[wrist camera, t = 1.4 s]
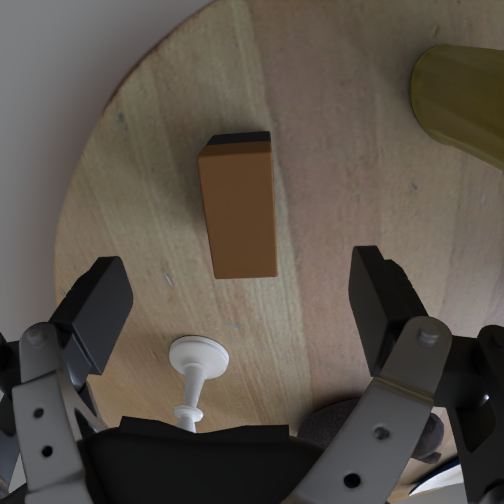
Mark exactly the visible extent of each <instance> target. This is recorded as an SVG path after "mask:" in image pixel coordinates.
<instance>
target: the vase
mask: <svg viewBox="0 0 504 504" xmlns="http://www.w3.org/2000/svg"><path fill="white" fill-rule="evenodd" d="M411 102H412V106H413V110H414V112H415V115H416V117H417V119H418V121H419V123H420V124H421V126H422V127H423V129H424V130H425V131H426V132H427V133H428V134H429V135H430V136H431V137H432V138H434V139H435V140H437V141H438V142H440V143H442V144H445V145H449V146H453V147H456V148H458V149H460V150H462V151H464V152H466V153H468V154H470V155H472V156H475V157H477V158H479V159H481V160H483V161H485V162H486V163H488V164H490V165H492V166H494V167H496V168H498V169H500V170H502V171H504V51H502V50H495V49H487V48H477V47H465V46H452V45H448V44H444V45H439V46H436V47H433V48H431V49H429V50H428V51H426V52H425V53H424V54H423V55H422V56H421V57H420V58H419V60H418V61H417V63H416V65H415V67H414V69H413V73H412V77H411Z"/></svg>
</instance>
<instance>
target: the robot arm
mask: <svg viewBox="0 0 504 504" xmlns="http://www.w3.org/2000/svg"><path fill="white" fill-rule="evenodd" d="M348 291H349V301H350V305H351V308H352V311H353V315H354V318H355V321H356V325H357V328H358V331H359V335H360V338H361V342H362V346H363V349H364V353H365V356H366V360H367V364H368V368H369V371H370V375H371V377H374V378H373V379H372V381H371V382H370V384H369V386H368V387H367V389H366V390H365V392H364V394H363V395H362V397H361V399H360V400H359V402H358V403H357V405H356V406H355V408H354V409H353V411H352V413H351V414H350V416H349V417H348V419H347V420H346V422H345V423H344V425H343V426H342V427H341V429H340V430H339V432H338V433H337V435H336V436H335V437H334V439H333V440H332V442H331V443H330V444H329V446H328V447H327V449H326V448H324V447H322V446H320V445H319V444H316V443H314V442H311V441H309V440H306V439H302V438H299V437H294V436H289V425H245V426H240V427H235V428H230V429H225V430H219V431H213V432H208V433H194V432H191V431H188V430H185V429H182V428H179V427H176V426H173V425H170V424H167V423H164V422H161V421H158V420H150V419H142V418H134V417H127V416H122V419H121V422H120V425H119V427H114V428H109V429H106V427H105V425H104V423H103V420H102V418H101V415H100V413H99V410H98V407H97V405H96V402H95V399H94V396H93V393H92V390H91V387H90V385H89V383H88V381H87V380H86V378H87V376H88V374H94V375H102V373H103V371H104V369H105V366H106V364H107V362H108V359H109V357H110V355H111V352H112V350H113V348H114V345H115V343H116V341H117V339H118V337H119V334H120V332H121V330H122V328H123V326H124V323H125V321H126V319H127V317H128V315H129V313H130V311H131V308H132V305H133V293H132V289H131V286H130V283H129V280H128V277H127V274H126V271H125V268H124V265H123V262H122V260H121V258H120V257H119V256H109V257H99V258H98V259H97V260H96V261H95V263H94V264H93V265H92V267H91V268H90V270H89V271H87V272H86V273H85V274H83V275H82V276H81V277H80V278H78V279H77V281H76V282H75V283H74V285H73V286H72V288H71V290H69V292H68V293H67V295H66V298H64V299H63V300H62V302H61V303H60V305H59V306H58V308H57V309H56V311H55V312H54V314H53V315H52V317H51V318H50V320H49V321H48V322H40V323H37V324H34V325H33V326H31V327H29V328H28V329H27V330H26V331H25V332H24V333H23V335H22V336H21V338H20V340H19V341H14V342H6V340H5V338H4V337H3V336H2V334H1V333H0V390H1V391H2V392H3V393H4V396H3V398H2V400H1V402H0V504H390V503H389V502H388V501H387V499H388V498H389V496H390V494H391V492H392V491H393V489H394V487H395V485H396V484H397V482H398V480H399V478H400V476H401V475H402V473H403V471H404V469H405V467H406V465H407V463H408V461H409V459H410V457H411V455H412V453H413V451H414V449H415V447H416V445H417V443H418V441H419V438H420V436H421V434H422V432H423V429H424V427H425V425H426V423H427V420H428V418H429V415H430V413H431V410H432V408H433V406H434V407H445V408H446V410H447V413H448V417H449V420H450V424H451V428H452V432H453V435H454V439H455V443H456V447H457V452H458V456H459V460H460V465H461V470H462V474H463V480H464V484H465V490H466V496H467V501H468V504H504V327H502V326H498V325H487V326H485V327H483V328H482V329H481V330H480V332H479V334H478V336H477V338H470V337H462V336H455V335H452V333H451V331H450V329H449V328H448V327H447V326H446V325H445V324H444V323H443V322H442V321H440V320H438V319H436V318H433V317H429V315H428V314H427V312H426V310H425V308H424V306H423V304H422V302H421V300H420V299H419V297H418V295H417V293H416V291H415V290H414V288H412V284H411V282H410V281H409V280H408V277H407V275H406V274H405V272H404V270H403V269H402V267H400V266H399V265H398V264H397V263H395V262H394V261H393V260H391V259H389V260H384V258H383V256H382V254H381V253H380V251H379V249H378V247H377V246H376V245H372V246H354V248H353V251H352V260H351V269H350V278H349V288H348ZM19 453H20V454H21V459H22V464H23V469H24V473H25V477H26V481H27V482H26V483H25V484H23V485H22V486H21V487H19V488H17V489H16V490H15V491H13V492H12V493H9V491H8V488H9V485H10V481H11V478H12V475H13V471H14V468H15V465H16V462H17V459H18V456H19Z"/></svg>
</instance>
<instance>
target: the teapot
mask: <svg viewBox="0 0 504 504" xmlns="http://www.w3.org/2000/svg"><path fill="white" fill-rule="evenodd" d="M360 399H361V398H358V399H353V400H348V401H344V402H340V403H337V404H334V405H331V406H328V407H326V408H323V409H322V410H320V411H318V412H316V413H314V414H313V415H311V416H310V417H308V418H307V419H306V420H305V421H304V422H303V423H302V424H301V426H300V427H299V430H298V434H297V437H299V438H302V439H306V440H309V441H311V442H314V443H316V444H319V445H320V446H322V447H324V448H326V449H327V447H328V446H329V444H330V443H331V442H332V440H333V439H334V437H335V436H336V435H337V433H338V432H339V430H340V429H341V427H342V426H343V425H344V423H345V422H346V420H347V419H348V417H349V416H350V414H351V413H352V411H353V409H354V408H355V406H356V405H357V403H358V402H359V400H360ZM443 436H444V424H443V423H442V421H441V420H440V418H439V417H438V416H437V415H436V414H434V413H430V415H429V418H428V420H427V423H426V425H425V427H424V429H423V432H422V434H421V436H420V438H419V441H418V443H417V445H416V447H415V449H414V451H413V453H412V455H411V457H410V458H414V459H417V460H419V461H422V462H425V463H429V464H436V463H437V462H438V460H439V459H440V457H441V455H442V454H441V453H438V452H435V451H436V449H437V448H438V447H439V446H440V445H441V443H442V440H443Z"/></svg>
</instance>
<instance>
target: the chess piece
mask: <svg viewBox="0 0 504 504" xmlns="http://www.w3.org/2000/svg"><path fill="white" fill-rule="evenodd" d="M169 360H170V362H171V364H172V366H173V367H174V368H175V369H176V370H177V371H179V372H180V373H182V374H183V375H185V382H184V398H183V405H178V406H176V407H175V408H174V415H175V416H176V417H177V418H179V419H180V420H179V421H178V422H177V424H176V427H179V428H182V429H185V430H188V431H191V432H194V433H196V430H195V425H194V422H197V421H200V420H201V419H202V417H203V413H202V411H201V410H199V409H198V408H196V406H197V402H198V399H199V396H200V392H201V389H202V386H203V383H204V381H205V379H213V378H216V377H218V376H220V375H222V374H223V373H224V372H225V371H226V369H227V365H228V362H229V356H228V353H227V351H226V350H225V349H224V348H223V347H222V346H221V345H220V344H218V343H217V342H215V341H213V340H211V339H208V338H205V337H200V336H186V337H182V338H179V339H177V340H176V341H174V342H173V343H172V345H171V346H170V353H169Z"/></svg>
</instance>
